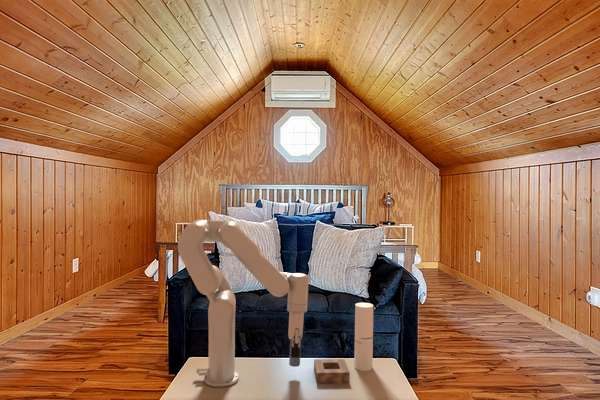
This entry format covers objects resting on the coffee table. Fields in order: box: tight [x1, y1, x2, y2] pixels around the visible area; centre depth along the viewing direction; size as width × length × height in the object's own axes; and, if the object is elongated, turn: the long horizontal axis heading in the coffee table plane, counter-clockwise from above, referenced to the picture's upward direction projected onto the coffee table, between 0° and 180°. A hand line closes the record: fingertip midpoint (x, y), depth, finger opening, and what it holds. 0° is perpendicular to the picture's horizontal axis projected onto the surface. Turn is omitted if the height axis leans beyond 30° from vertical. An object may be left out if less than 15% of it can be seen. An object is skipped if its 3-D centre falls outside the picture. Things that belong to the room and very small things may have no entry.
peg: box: [288, 337, 302, 368], centre depth 158 cm, size 4×4×12 cm
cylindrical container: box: [353, 302, 374, 372], centre depth 168 cm, size 7×7×25 cm
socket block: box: [313, 358, 351, 385], centre depth 159 cm, size 12×12×4 cm
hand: (294, 354), depth 158 cm, fingers closed on peg, 4 cm apart
